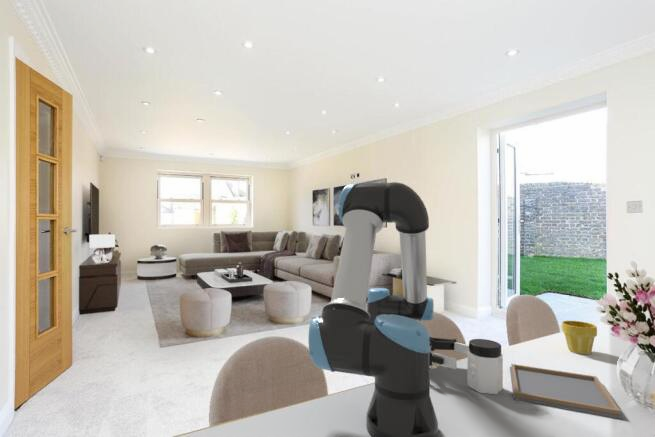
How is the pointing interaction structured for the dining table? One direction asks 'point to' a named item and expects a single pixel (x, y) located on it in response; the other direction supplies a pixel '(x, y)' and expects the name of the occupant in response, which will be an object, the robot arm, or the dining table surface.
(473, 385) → the jar
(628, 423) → the dining table surface
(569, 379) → the square tray
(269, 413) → the dining table surface
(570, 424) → the dining table surface
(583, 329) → the plant pot
